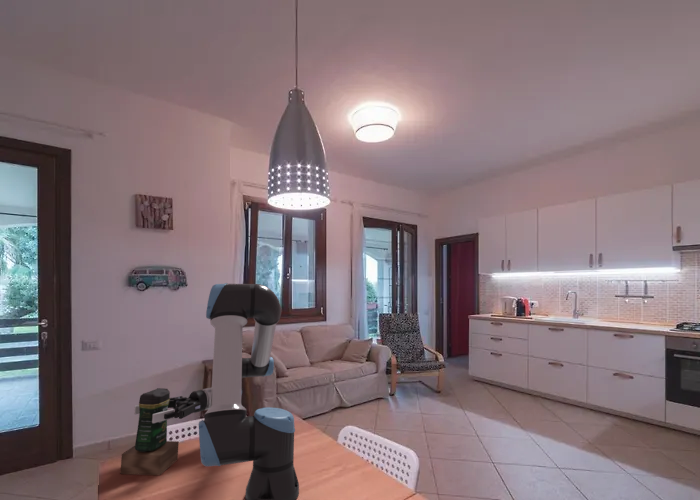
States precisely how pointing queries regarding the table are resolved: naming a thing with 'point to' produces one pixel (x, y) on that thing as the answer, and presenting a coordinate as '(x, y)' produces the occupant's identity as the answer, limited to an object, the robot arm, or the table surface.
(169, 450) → the block
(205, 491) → the table surface
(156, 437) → the green supplement bottle
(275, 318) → the robot arm
